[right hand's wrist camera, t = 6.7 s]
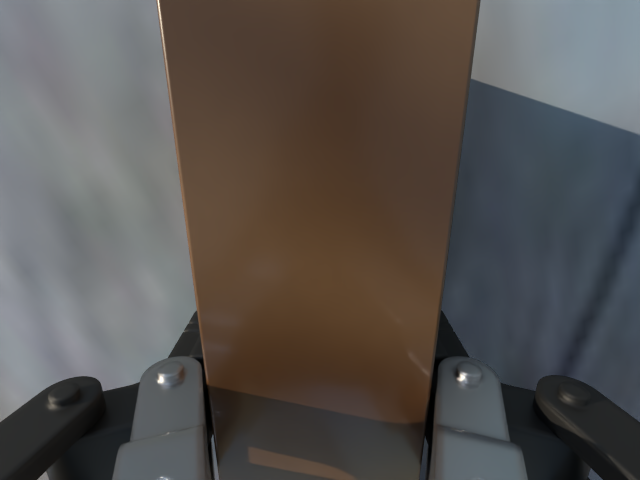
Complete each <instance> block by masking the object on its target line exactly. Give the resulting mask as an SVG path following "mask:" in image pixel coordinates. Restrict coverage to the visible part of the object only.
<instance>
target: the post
mask: <svg viewBox="0 0 640 480" xmlns="http://www.w3.org/2000/svg"><path fill="white" fill-rule="evenodd" d="M156 2H157V9H158V17H159V25H160V32H161V40H162V47H163V55H164V63H165V70H166V78H167V85H168V93H169V101H170V108H171V116H172V123H173V131H174V139H175V146H176V154H177V161H178V169H179V177H180V184H181V192H182V200H183V207H184V215H185V222H186V230H187V238H188V245H189V253H190V260H191V268H192V276H193V283H194V291H195V298H196V306H197V314H198V321H199V329H200V336H201V344H202V352H203V359H204V367H205V374H206V382H207V390H208V397H209V405H210V413H211V420H212V428H213V435H214V443H215V451H216V458H217V466H218V473H219V480H419V477H420V469H421V462H422V454H423V446H424V438H425V430H426V423H427V415H428V407H429V399H430V391H431V383H432V376H433V368H434V360H435V352H436V344H437V337H438V329H439V321H440V313H441V305H442V298H443V290H444V282H445V274H446V266H447V259H448V251H449V243H450V235H451V227H452V220H453V212H454V204H455V196H456V188H457V180H458V173H459V165H460V157H461V149H462V141H463V134H464V126H465V118H466V110H467V102H468V95H469V87H470V79H471V71H472V63H473V56H474V48H475V40H476V32H477V24H478V17H479V9H480V0H156Z"/></svg>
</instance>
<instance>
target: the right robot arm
mask: <svg viewBox="0 0 640 480" xmlns="http://www.w3.org/2000/svg"><path fill="white" fill-rule="evenodd" d="M212 435H213V428H212V420H211V413H210V405H209V397H208V390H207V382H206V374H205V367H204V359H203V352H202V344H201V336H200V329H199V321H198V314H197V311H196V312H195V313H194V315H193V316H192V318H191V320H190V322H189V324H188V325H187V327H186V328H185V330H184V332H183V333H182V335H181V337H180V338H179V340H178V342H177V343H176V345H175V347H174V348H173V350H172V352H171V354H170V355H169V357H168V358H167V359H164V360H161V361H159V362H157V363H155V364H154V365H152V366H151V367H149V368H148V369H147V370H146V371H145V372H144V374H143V375H142V377H141V380H140V382H139V383H136V384H133V385H130V386H126V387H121V388H116V389H112V390H107V391H103V390H102V386H101V383H100V382H99V381H98V380H97V379H95V378H93V377H87V376H81V377H74V378H69V379H66V380H63V381H60V382H58V383H55V384H53V385H51V386H50V387H48V388H46V389H45V390H43V391H42V392H40V393H39V394H38V395H36V396H35V397H34V398H32V399H31V400H30V401H28V402H27V403H26V404H24V405H23V406H22V407H20V408H19V409H18V410H16V411H15V412H14V413H12V414H11V415H10V416H8V417H7V418H5V419H4V420H3V421H1V422H0V480H37V479H38V478H39V477H40V476H41V475H42V474H43V473H44V472H45V471H46V472H47V475H48V477H49V480H215V473H214V460H213V449H212V441H211V438H212ZM425 437H426V440H427V443H428V449H427V459H426V473H425V480H590V479H589V478H588V475H589V472H590V469H591V468H592V469H593V470H594V471H595V472H596V473H597V474H598V475H599V476H600V477H601V478H602V479H603V480H640V422H639V421H637V420H636V419H635V418H633V417H632V416H630V415H629V414H628V413H626V412H625V411H624V410H622V409H621V408H620V407H618V406H617V405H616V404H614V403H613V402H612V401H610V400H609V399H608V398H606V397H605V396H604V395H602V394H601V393H600V392H598V391H597V390H595V389H594V388H593V387H591V386H589V385H587V384H585V383H583V382H581V381H579V380H576V379H573V378H570V377H565V376H559V375H551V376H546V377H543V378H541V379H540V380H539V382H538V384H537V388H536V391H532V390H528V389H523V388H519V387H514V386H510V385H506V384H503V383H500V380H499V377H498V375H497V374H496V372H495V371H494V370H493V369H492V368H491V367H489V366H488V365H486V364H485V363H483V362H481V361H479V360H476V359H473V358H469V356H468V354H467V352H466V351H465V349H464V347H463V346H462V344H461V342H460V340H459V339H458V337H457V335H456V334H455V332H453V329H452V327H451V325H450V323H448V320H447V318H446V317H445V315H444V313H443V312H442V311H441V313H440V321H439V329H438V337H437V344H436V352H435V360H434V368H433V376H432V383H431V391H430V399H429V407H428V415H427V423H426V430H425Z"/></svg>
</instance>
